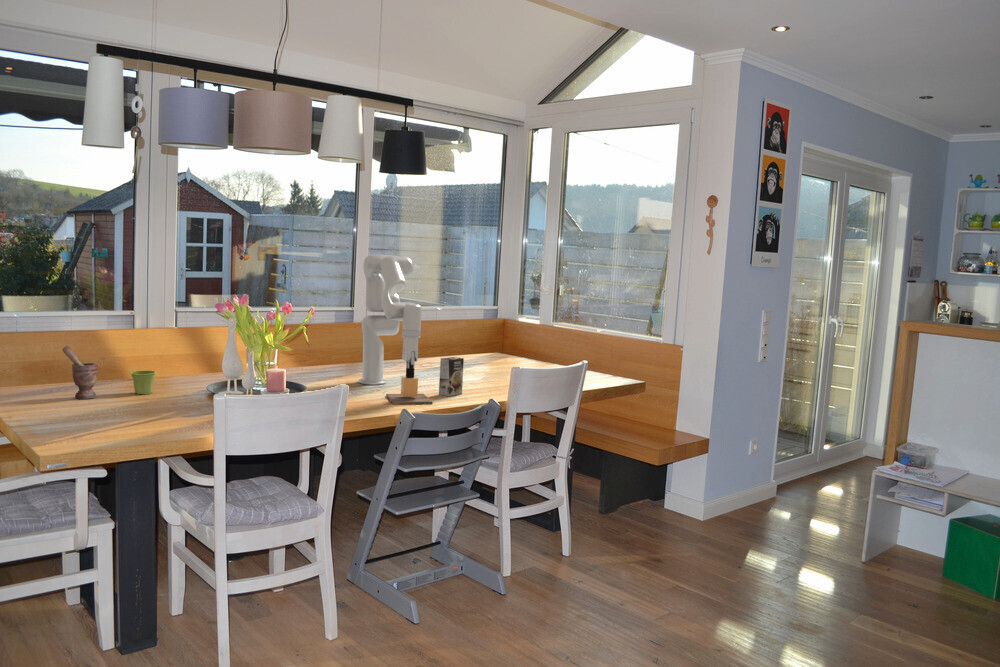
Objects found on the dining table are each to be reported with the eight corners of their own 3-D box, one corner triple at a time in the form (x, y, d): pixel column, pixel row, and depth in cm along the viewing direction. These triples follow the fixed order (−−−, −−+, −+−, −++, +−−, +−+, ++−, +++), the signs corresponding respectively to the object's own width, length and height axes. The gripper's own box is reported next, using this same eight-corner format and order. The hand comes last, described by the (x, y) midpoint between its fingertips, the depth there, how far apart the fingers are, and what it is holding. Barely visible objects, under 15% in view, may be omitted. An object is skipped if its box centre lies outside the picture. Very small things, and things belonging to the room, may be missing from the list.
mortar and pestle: (64, 401, 288) (63, 348, 286) (62, 396, 295) (61, 345, 293) (99, 399, 295) (98, 347, 292) (96, 395, 302) (95, 344, 300)
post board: (386, 396, 327) (386, 375, 326) (423, 395, 332) (423, 375, 331) (393, 404, 310) (394, 382, 309) (432, 404, 315) (433, 382, 314)
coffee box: (449, 396, 334) (450, 359, 332) (438, 394, 338) (439, 358, 336) (462, 394, 341) (464, 358, 339) (451, 391, 345) (453, 356, 343)
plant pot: (137, 396, 302) (137, 374, 301) (125, 393, 308) (125, 371, 307) (160, 393, 310) (160, 372, 309) (148, 390, 315) (148, 369, 315)
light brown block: (400, 394, 323) (401, 376, 322) (414, 394, 325) (415, 376, 324) (403, 396, 318) (404, 378, 317) (417, 396, 319) (417, 378, 319)
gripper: (399, 331, 324) (397, 374, 326) (405, 335, 310) (404, 380, 312) (416, 332, 327) (415, 374, 328) (424, 336, 312) (422, 380, 314)
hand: (409, 377), depth 320 cm, fingers closed
